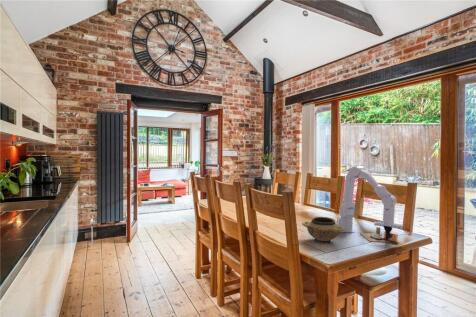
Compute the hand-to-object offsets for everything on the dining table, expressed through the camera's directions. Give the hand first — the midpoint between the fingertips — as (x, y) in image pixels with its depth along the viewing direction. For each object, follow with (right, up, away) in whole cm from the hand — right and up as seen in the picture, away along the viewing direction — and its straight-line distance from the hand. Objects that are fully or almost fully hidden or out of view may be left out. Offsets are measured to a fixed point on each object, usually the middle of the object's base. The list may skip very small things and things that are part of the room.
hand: (387, 239), depth 161 cm
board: (-2, -1, +7) cm, 7 cm away
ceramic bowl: (-38, -1, 0) cm, 38 cm away
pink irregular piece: (0, -1, +5) cm, 5 cm away
